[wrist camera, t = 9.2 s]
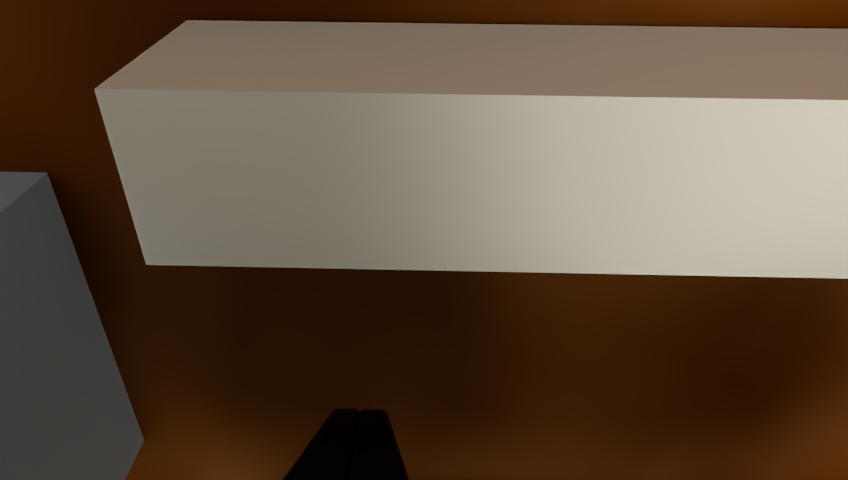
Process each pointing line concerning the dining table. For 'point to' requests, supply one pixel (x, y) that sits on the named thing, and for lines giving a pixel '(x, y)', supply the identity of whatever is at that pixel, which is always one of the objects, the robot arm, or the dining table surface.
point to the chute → (487, 148)
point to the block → (54, 351)
